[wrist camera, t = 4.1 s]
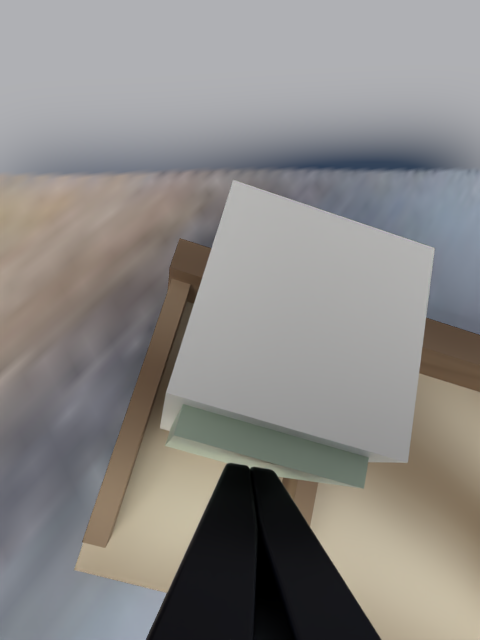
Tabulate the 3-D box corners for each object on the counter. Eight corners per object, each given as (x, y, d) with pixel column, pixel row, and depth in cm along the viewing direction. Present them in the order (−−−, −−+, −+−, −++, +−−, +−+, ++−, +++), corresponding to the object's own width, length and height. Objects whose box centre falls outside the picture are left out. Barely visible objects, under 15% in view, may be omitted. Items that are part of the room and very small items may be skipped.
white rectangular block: (271, 476, 14) (403, 496, 7) (154, 444, 14) (155, 426, 6) (299, 349, 16) (434, 248, 8) (194, 317, 15) (233, 179, 8)
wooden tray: (643, 706, 15) (758, 764, 12) (77, 565, 13) (56, 594, 10) (633, 420, 18) (721, 412, 15) (175, 276, 16) (179, 238, 14)
